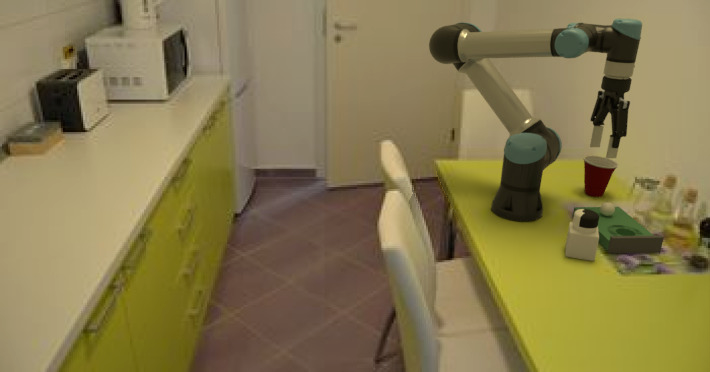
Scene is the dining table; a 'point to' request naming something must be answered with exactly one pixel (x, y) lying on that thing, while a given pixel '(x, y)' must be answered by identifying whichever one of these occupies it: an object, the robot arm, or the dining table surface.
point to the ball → (607, 209)
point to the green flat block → (624, 233)
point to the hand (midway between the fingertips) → (602, 152)
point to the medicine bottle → (583, 235)
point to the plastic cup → (597, 174)
